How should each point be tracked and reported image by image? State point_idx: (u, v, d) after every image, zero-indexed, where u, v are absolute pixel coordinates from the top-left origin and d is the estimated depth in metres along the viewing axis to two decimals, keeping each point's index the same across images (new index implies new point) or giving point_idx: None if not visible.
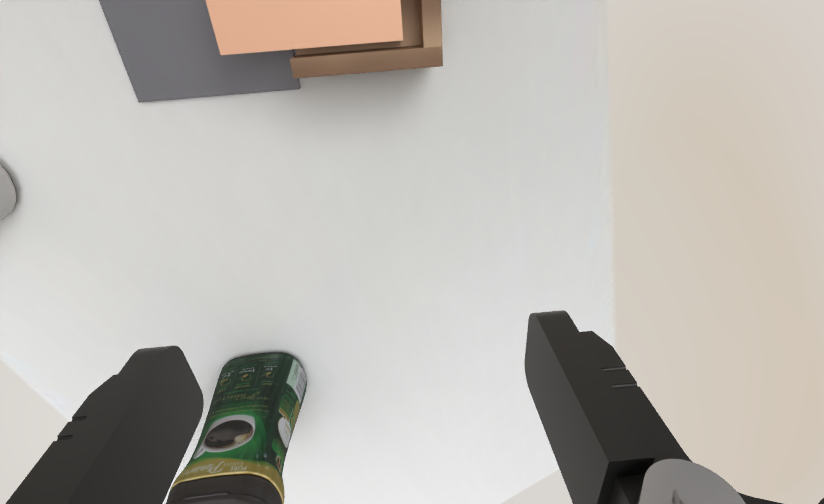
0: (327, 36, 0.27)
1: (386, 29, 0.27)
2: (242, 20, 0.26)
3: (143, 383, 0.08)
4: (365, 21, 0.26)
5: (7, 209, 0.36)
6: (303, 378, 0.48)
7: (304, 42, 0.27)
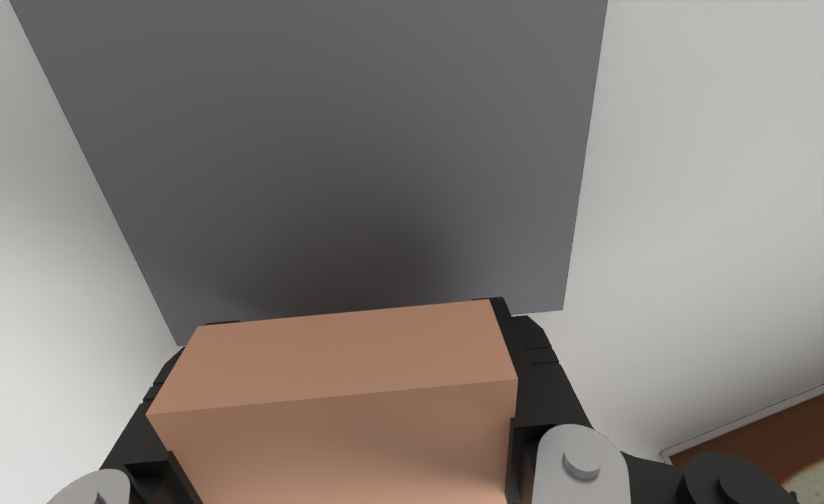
0: None
1: None
2: (297, 477, 0.07)
3: None
4: None
5: None
6: None
7: None
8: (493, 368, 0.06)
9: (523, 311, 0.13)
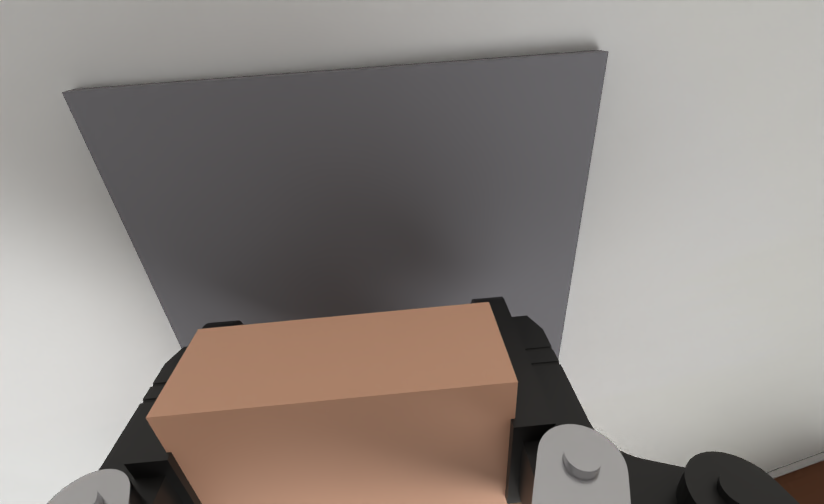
0: None
1: None
2: (297, 481, 0.07)
3: None
4: None
5: None
6: None
7: None
8: (493, 371, 0.06)
9: None
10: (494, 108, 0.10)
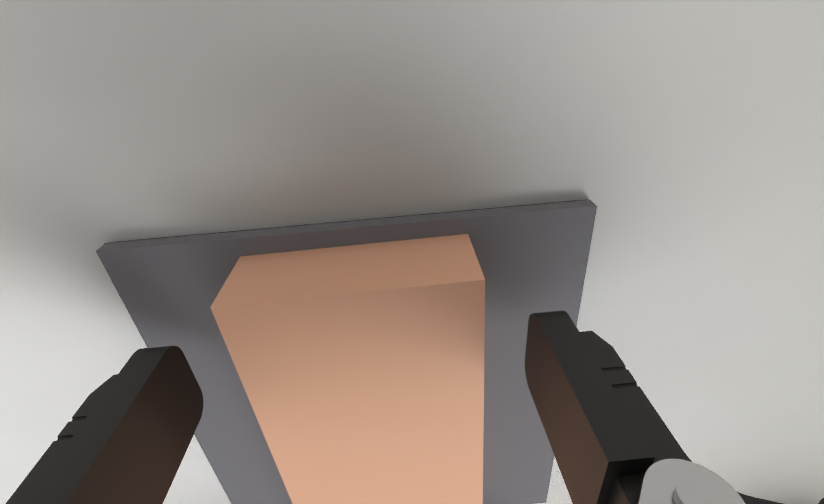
0: (311, 498, 0.12)
1: None
2: (320, 366, 0.09)
3: (143, 383, 0.08)
4: None
5: None
6: None
7: (290, 468, 0.11)
8: (467, 274, 0.09)
9: (515, 501, 0.17)
10: (492, 252, 0.10)
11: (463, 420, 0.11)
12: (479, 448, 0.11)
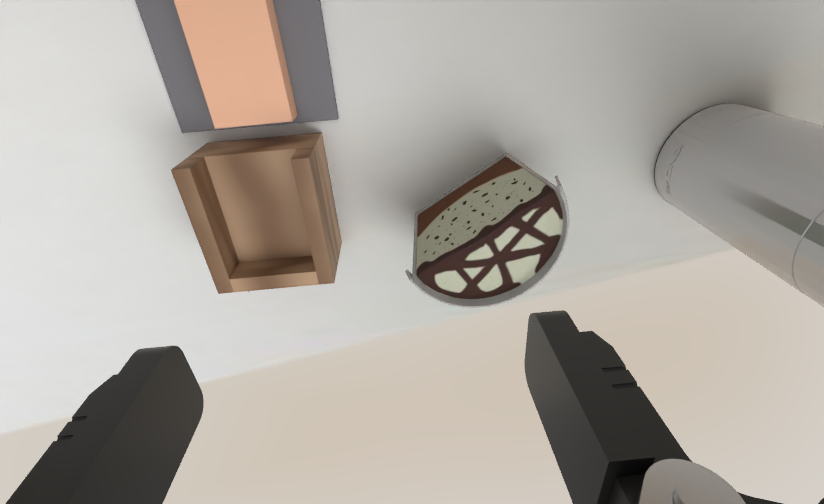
0: (199, 53, 0.27)
1: (220, 113, 0.29)
2: None
3: (143, 383, 0.08)
4: (222, 93, 0.28)
5: None
6: None
7: (187, 27, 0.26)
8: None
9: (322, 120, 0.32)
10: None
11: None
12: (268, 19, 0.26)
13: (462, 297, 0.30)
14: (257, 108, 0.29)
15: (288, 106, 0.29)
